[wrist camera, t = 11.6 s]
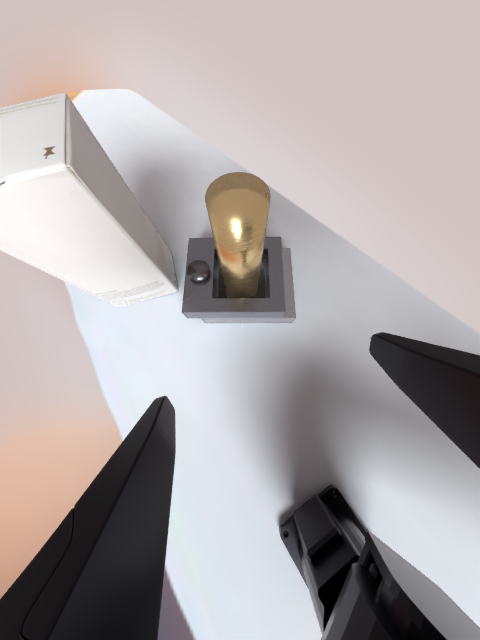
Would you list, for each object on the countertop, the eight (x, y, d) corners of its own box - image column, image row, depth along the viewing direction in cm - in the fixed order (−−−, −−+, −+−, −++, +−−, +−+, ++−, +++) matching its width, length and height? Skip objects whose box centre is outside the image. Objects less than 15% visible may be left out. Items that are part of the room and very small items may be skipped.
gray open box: (286, 257, 25) (295, 232, 21) (291, 322, 23) (302, 309, 18) (197, 259, 25) (187, 234, 21) (192, 323, 23) (179, 310, 18)
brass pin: (263, 284, 24) (282, 187, 12) (246, 309, 23) (247, 233, 11) (237, 270, 25) (228, 164, 12) (219, 293, 24) (192, 204, 11)
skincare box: (172, 253, 26) (74, 85, 11) (180, 295, 24) (73, 164, 9) (112, 267, 26) (-77, 113, 11) (114, 311, 24) (-109, 201, 9)
